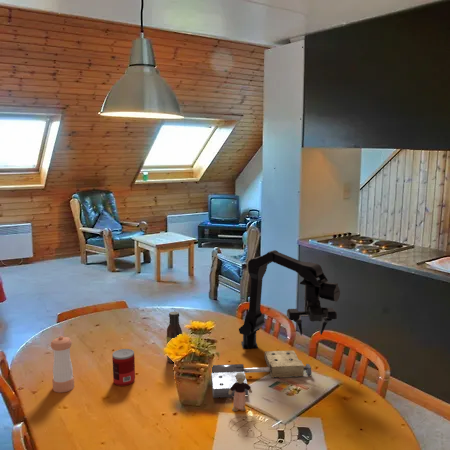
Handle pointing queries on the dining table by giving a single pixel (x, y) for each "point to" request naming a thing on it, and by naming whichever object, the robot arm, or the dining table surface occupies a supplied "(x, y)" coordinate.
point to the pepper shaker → (62, 365)
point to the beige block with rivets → (284, 363)
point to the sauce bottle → (173, 328)
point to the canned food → (123, 367)
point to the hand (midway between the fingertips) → (311, 334)
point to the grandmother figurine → (239, 392)
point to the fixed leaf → (234, 377)
